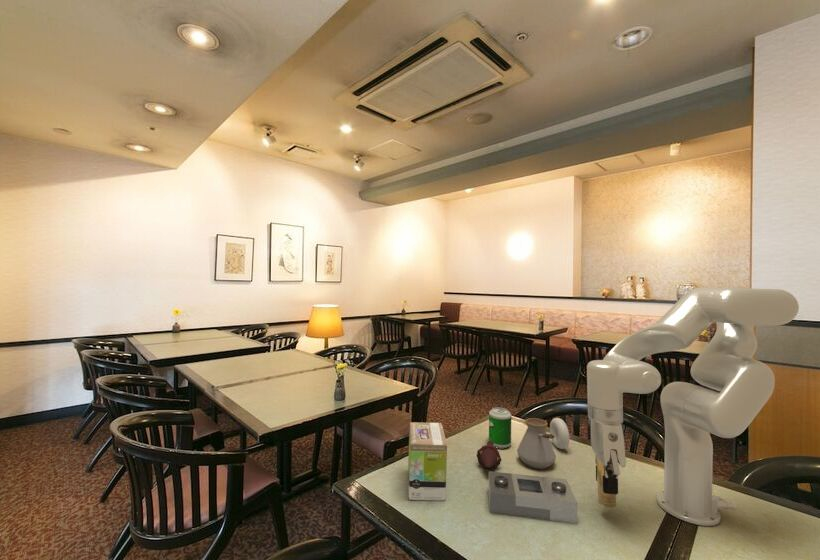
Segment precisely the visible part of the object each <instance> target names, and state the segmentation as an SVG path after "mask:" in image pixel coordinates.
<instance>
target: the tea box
mask: <svg viewBox="0 0 820 560" xmlns="http://www.w3.org/2000/svg"><path fill="white" fill-rule="evenodd" d="M408 431H409V432H408V433H409V434H408V458H407V459H408V468H407V469H408V470H407V471H408V472H407V473H408V474H407V476H408V481H407V482H408V500H410V501H446V499H447V468H448V467H447V465H448V464H447V463H448V462H447V461H448V460H447V458H448V457H447V456H448V444H447V439H446V435H445V431H444V426H443V424H442V422H417V421H415V422H414V421H413V422H412V421H411V422H409V430H408Z"/></svg>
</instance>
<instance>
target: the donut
mask: <svg viewBox="0 0 820 560" xmlns="http://www.w3.org/2000/svg"><path fill="white" fill-rule="evenodd" d="M549 434H552V435H554V438H552V439H551V442H552V444H553V443H554V444H553V445H554V446H555V447H556V448H558V449H560V450H565V449H567V448H568V447H569V445H570V432H569V428H568V426H567V423H566V422H565V421H564V420H563V419H562V418H559V417H554V418H552V420H551V421H550V424H549ZM555 437H556V438H555ZM557 440H558V441H557ZM556 442H557V443H556Z"/></svg>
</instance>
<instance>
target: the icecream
mask: <svg viewBox="0 0 820 560" xmlns="http://www.w3.org/2000/svg"><path fill="white" fill-rule="evenodd" d="M497 449H498V448H495V447H494V446H493V441H492V440H489V439H488V440H487V442H486V444H485V445H482V446H481V447H480V448H479V449H478V450H477V452H476V457H477V461H478V464H479V465H480V466H481V467H483V468H484V469H485V468H487V470H495V469H496V468H497V467H499V466H500V465H501V462H502V457H501V453H500V451H499V450H497Z"/></svg>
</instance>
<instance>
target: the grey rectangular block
mask: <svg viewBox="0 0 820 560" xmlns="http://www.w3.org/2000/svg"><path fill="white" fill-rule="evenodd" d="M487 484H488V486H487V487H488V488H487V489H488V502H489V503H488V504H489V514H498V515H506V516H513V517H521V518H527V519H528V518H529V519H536V520H546V521H551V522H552V521H553V522H560V523H561V522H562V523H568V524H569V523H570V524H578V501H577V499H576V496H575V494H574V492H573V491H572V489H571V486H570V484H569V483H568V480H567V478H557V477H550V476H549V477H546V476H539V475H529V474H519V473H511V472H510V473H509V472H501V471H500V472H499V471H491V470H490V471H489V470H488V483H487Z"/></svg>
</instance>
